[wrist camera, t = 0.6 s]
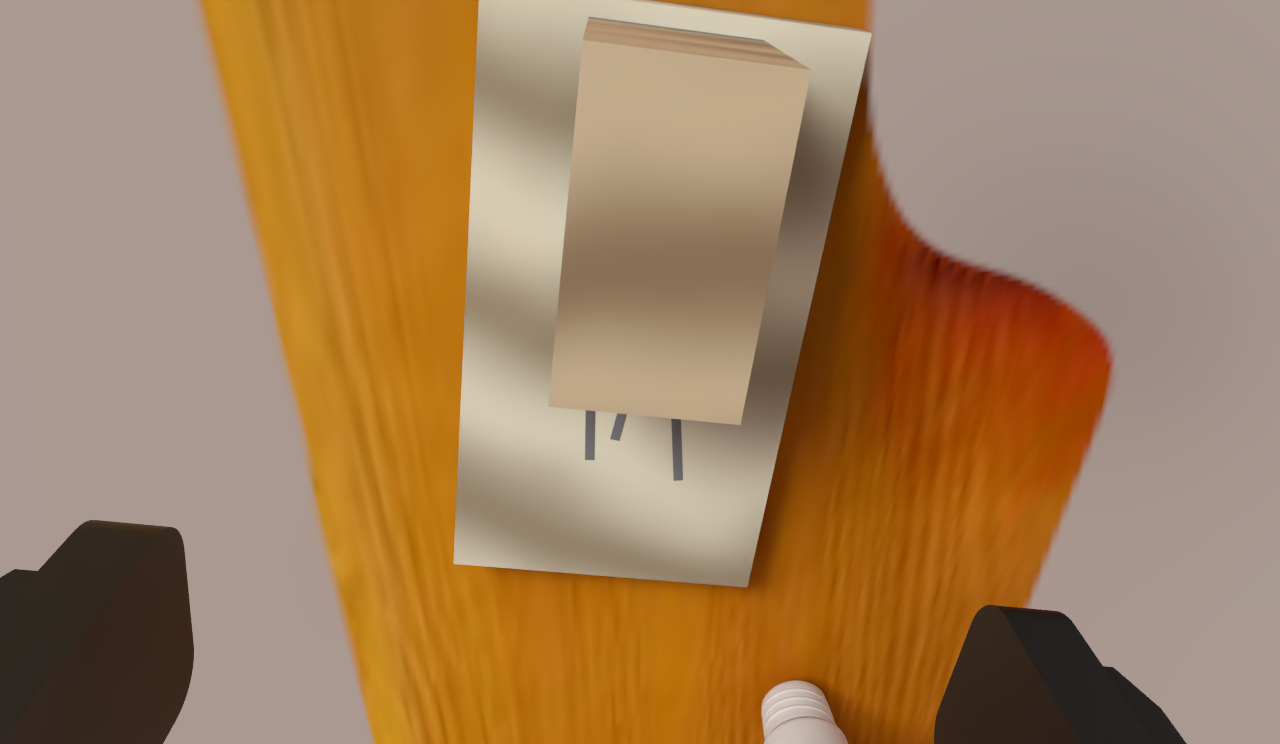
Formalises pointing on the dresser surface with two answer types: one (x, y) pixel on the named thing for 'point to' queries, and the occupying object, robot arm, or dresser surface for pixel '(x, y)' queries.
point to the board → (527, 312)
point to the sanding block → (672, 218)
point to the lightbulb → (798, 716)
